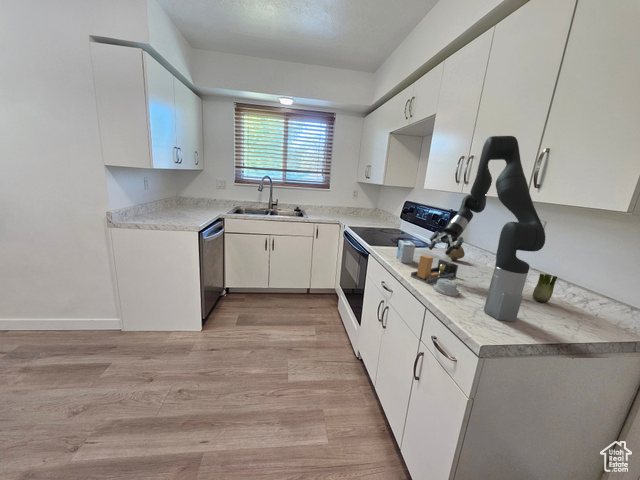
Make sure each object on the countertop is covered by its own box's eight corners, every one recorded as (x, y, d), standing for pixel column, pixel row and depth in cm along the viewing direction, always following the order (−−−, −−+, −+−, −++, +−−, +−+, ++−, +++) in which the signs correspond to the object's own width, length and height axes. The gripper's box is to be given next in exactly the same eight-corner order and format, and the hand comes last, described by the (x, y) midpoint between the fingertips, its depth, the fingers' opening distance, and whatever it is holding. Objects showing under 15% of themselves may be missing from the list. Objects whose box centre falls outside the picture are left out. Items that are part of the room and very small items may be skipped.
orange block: (426, 272, 127) (429, 253, 124) (437, 277, 122) (442, 257, 119) (414, 275, 122) (418, 254, 119) (426, 280, 117) (430, 259, 114)
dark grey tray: (438, 270, 135) (439, 266, 135) (454, 276, 128) (455, 272, 128) (410, 276, 123) (411, 272, 122) (427, 283, 115) (428, 279, 115)
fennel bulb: (549, 302, 107) (558, 275, 104) (548, 305, 103) (557, 277, 100) (531, 297, 110) (539, 270, 108) (530, 300, 107) (538, 273, 104)
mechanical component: (427, 286, 112) (444, 296, 103) (429, 277, 111) (446, 286, 102) (446, 285, 115) (463, 295, 106) (448, 276, 114) (466, 285, 105)
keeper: (438, 270, 136) (440, 259, 134) (455, 276, 128) (458, 265, 126) (430, 271, 132) (433, 260, 131) (448, 278, 124) (451, 266, 123)
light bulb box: (395, 257, 153) (398, 239, 151) (407, 258, 153) (410, 240, 151) (400, 262, 143) (403, 244, 140) (412, 263, 143) (416, 245, 140)
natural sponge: (465, 261, 157) (468, 245, 155) (459, 263, 151) (462, 247, 149) (450, 257, 164) (453, 242, 161) (443, 259, 158) (447, 243, 156)
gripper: (440, 219, 129) (422, 242, 126) (469, 224, 118) (450, 250, 114) (444, 229, 133) (427, 252, 130) (472, 235, 122) (454, 260, 118)
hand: (437, 251), depth 122 cm, fingers open, 8 cm apart
